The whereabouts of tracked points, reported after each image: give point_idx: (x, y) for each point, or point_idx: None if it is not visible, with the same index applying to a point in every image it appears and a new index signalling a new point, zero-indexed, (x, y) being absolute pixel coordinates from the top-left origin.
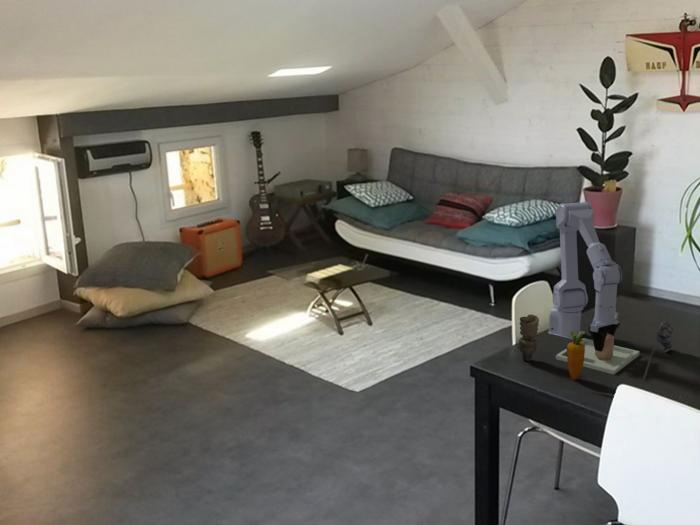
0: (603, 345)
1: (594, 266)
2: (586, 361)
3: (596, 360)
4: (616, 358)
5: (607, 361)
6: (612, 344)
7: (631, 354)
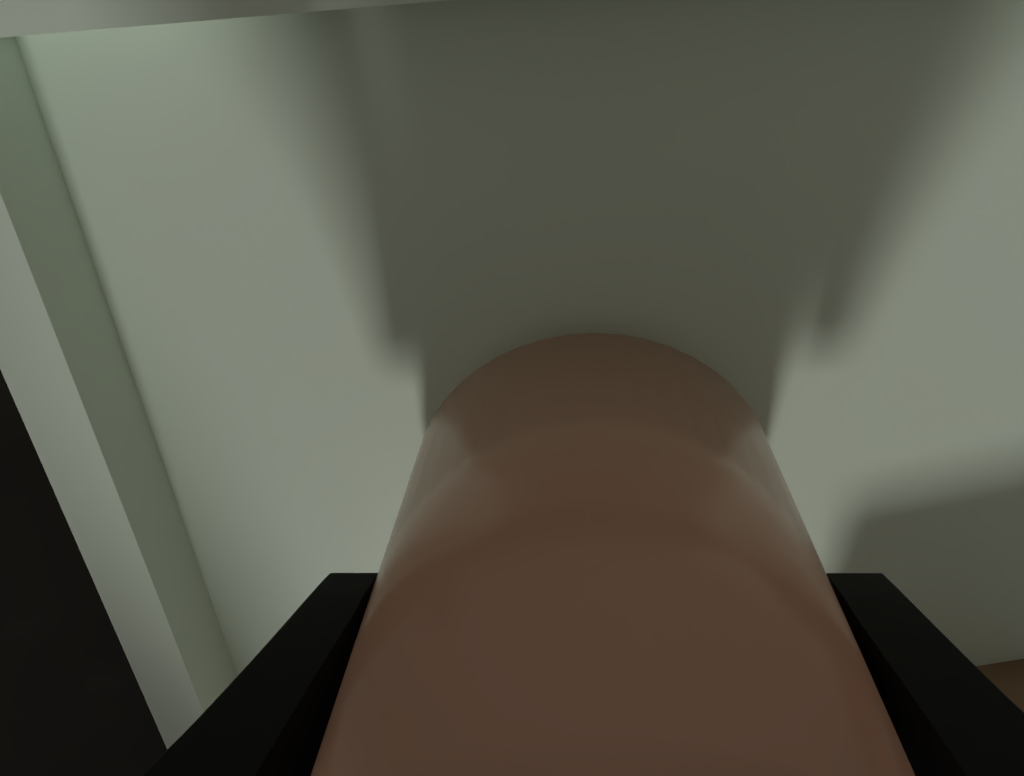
0: (954, 693)
1: None
2: (976, 591)
3: (828, 495)
4: (482, 264)
5: (759, 329)
6: (633, 538)
7: (174, 14)
